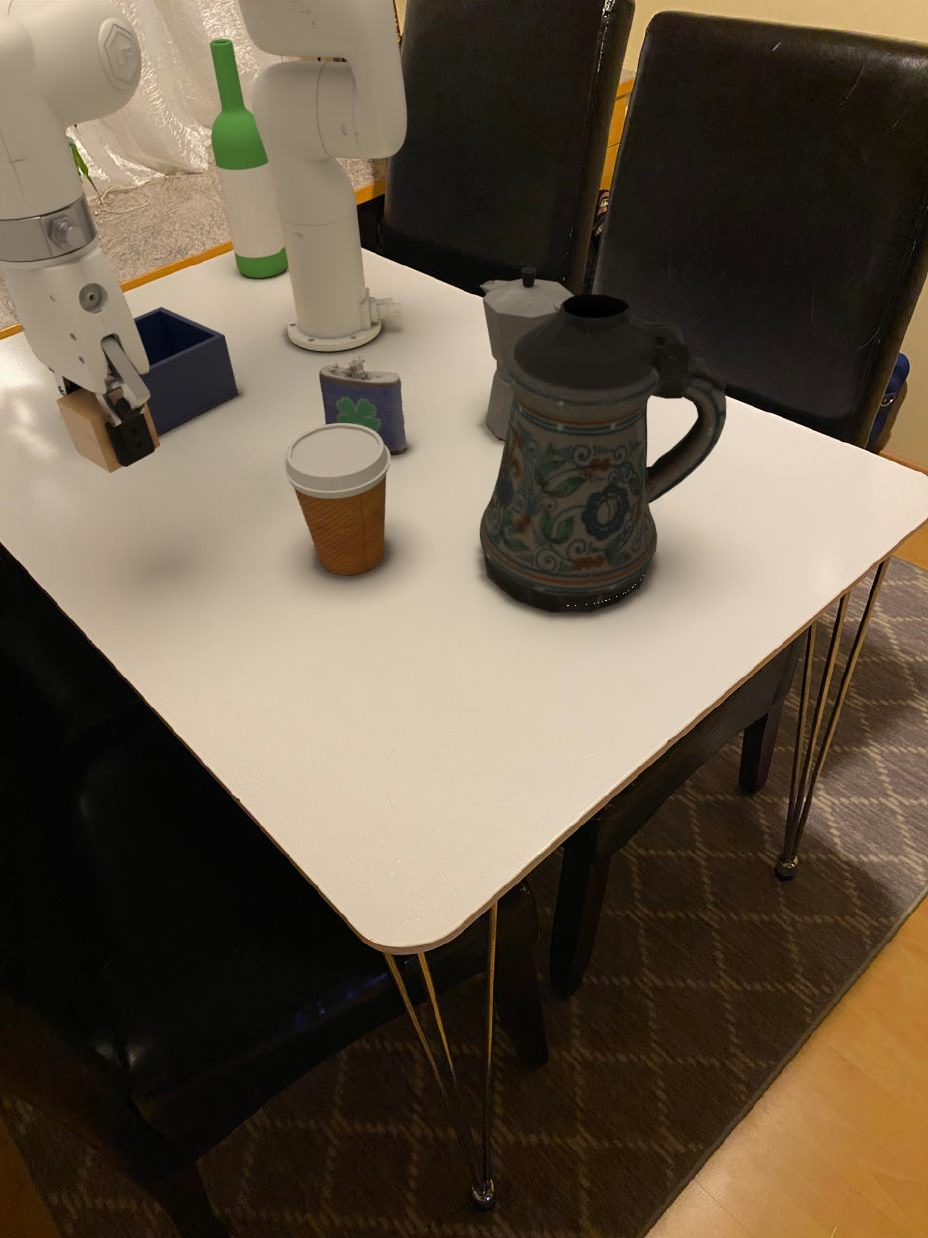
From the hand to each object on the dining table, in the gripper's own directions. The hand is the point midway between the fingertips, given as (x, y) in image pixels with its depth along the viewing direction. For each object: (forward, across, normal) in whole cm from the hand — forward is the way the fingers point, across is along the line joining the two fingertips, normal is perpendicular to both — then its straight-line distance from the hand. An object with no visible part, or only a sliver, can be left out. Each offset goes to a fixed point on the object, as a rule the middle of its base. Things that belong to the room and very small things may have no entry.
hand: (117, 444), depth 75 cm
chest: (+15, +28, -18) cm, 36 cm away
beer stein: (+15, -29, -27) cm, 43 cm away
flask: (+15, +1, -28) cm, 32 cm away
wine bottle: (+16, +48, -53) cm, 73 cm away
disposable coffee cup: (+15, -12, -13) cm, 23 cm away
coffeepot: (+16, -12, -42) cm, 47 cm away
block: (0, 0, 0) cm, 0 cm away
